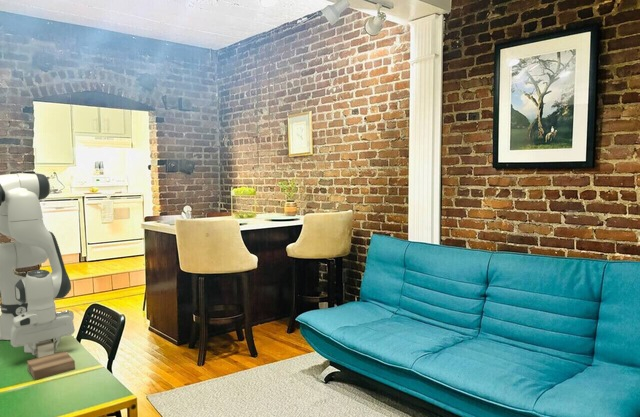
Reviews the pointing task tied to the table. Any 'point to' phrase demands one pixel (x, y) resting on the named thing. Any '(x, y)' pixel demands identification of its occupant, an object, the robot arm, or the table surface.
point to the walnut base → (50, 365)
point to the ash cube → (44, 348)
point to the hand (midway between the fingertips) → (44, 352)
